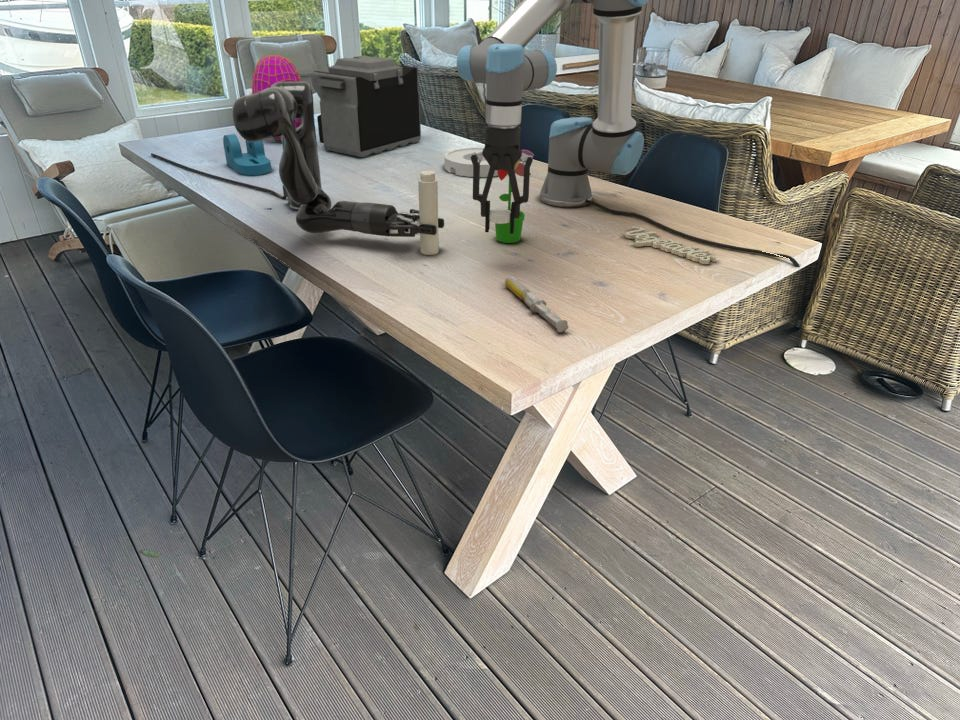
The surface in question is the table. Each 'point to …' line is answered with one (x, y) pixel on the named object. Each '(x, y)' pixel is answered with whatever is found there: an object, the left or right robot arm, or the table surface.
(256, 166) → the camera mount
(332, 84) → the portable cooler box
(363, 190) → the table surface
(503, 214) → the lid
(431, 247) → the beige long cylinder
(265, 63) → the decorative egg
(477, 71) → the right robot arm
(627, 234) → the decorative sign
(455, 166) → the white round base
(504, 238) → the potted flower
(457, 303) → the table surface
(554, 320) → the syringe
